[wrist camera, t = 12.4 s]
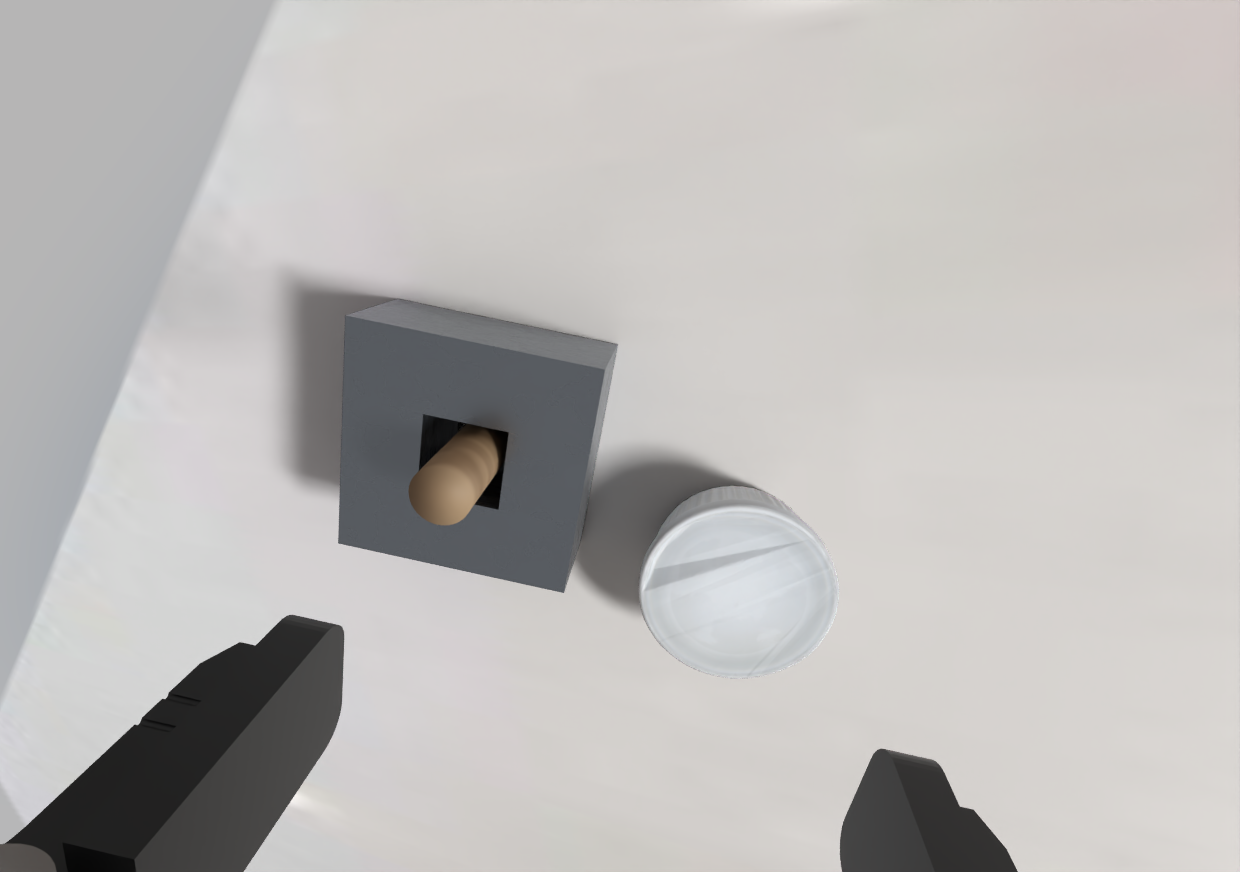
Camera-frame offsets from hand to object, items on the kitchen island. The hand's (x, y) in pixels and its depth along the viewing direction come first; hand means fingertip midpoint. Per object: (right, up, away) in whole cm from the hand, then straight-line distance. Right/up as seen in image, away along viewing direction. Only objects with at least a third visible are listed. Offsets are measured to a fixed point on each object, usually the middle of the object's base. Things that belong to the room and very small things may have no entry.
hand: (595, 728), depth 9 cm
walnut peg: (-7, +5, +29) cm, 30 cm away
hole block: (-7, +5, +29) cm, 30 cm away
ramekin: (+7, -3, +31) cm, 32 cm away
